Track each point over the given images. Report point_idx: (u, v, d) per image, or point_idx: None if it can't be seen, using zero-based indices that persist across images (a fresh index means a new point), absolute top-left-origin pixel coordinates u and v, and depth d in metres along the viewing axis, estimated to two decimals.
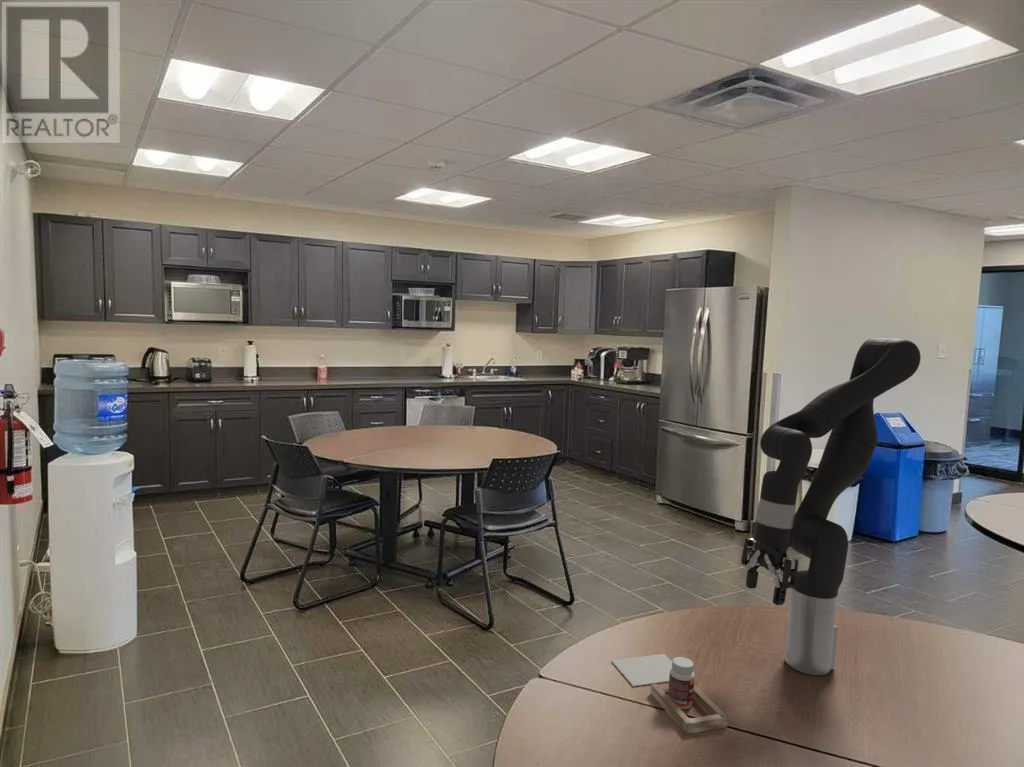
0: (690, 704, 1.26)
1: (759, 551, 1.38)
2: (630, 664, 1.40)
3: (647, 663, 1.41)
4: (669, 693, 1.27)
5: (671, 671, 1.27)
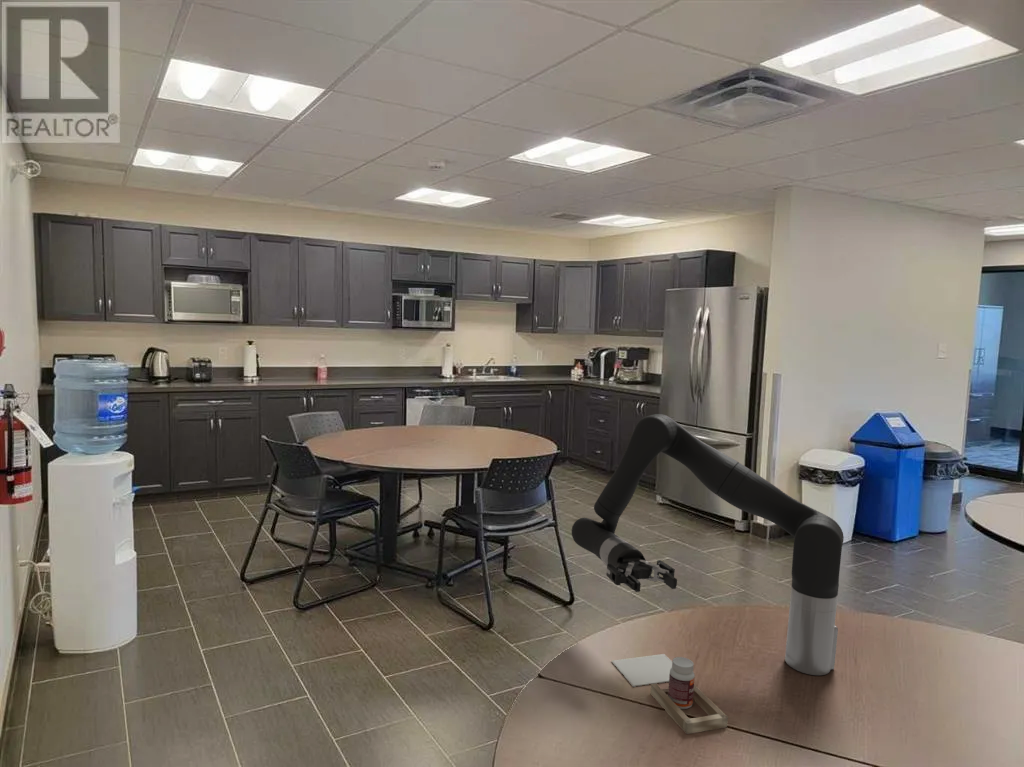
0: (690, 704, 1.26)
1: None
2: (630, 664, 1.40)
3: (647, 663, 1.41)
4: (669, 693, 1.27)
5: (671, 671, 1.27)
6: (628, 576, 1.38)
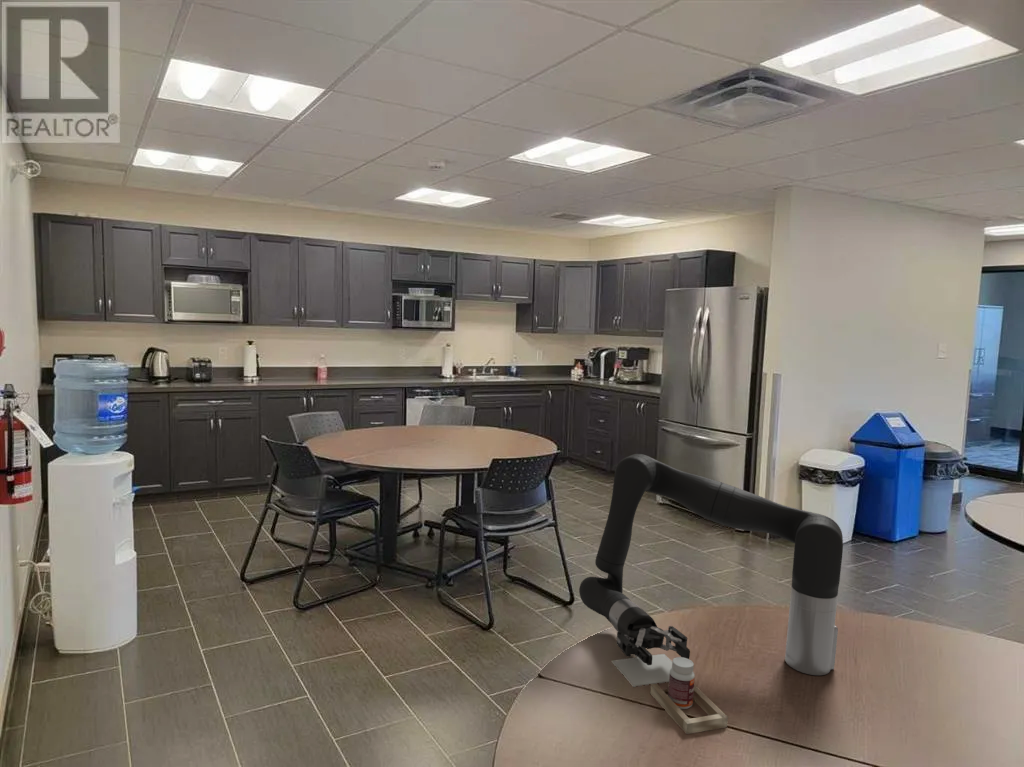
0: (690, 704, 1.26)
1: None
2: (630, 664, 1.40)
3: None
4: (669, 693, 1.27)
5: (671, 671, 1.27)
6: (639, 647, 1.34)
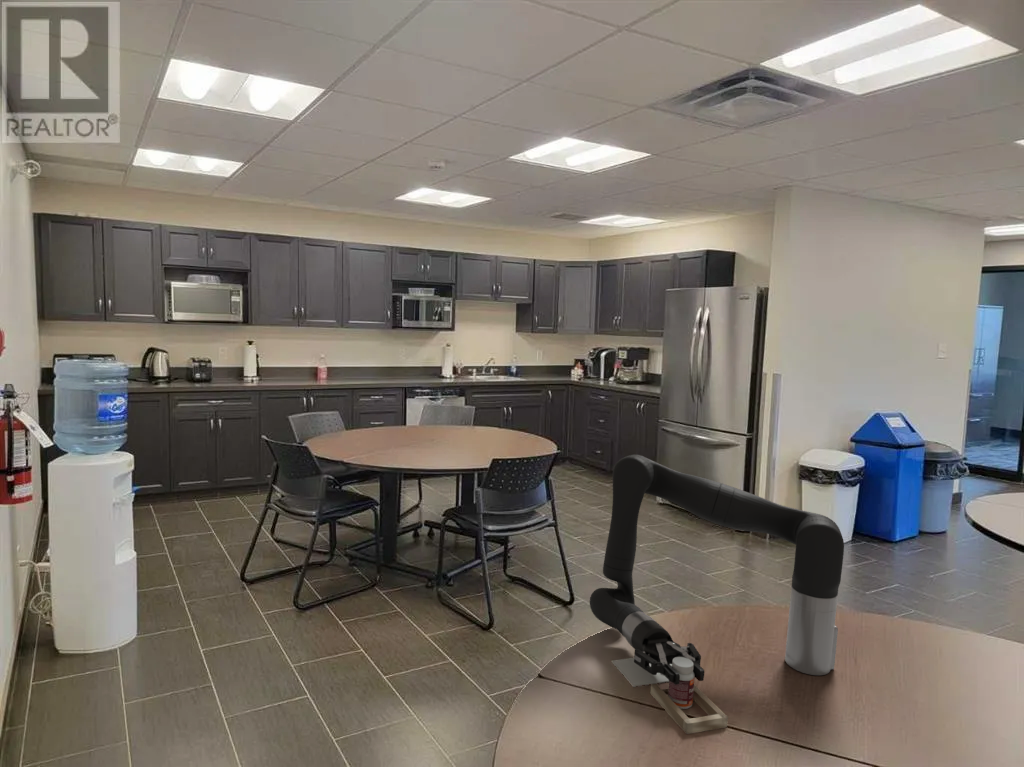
0: (690, 704, 1.26)
1: None
2: (630, 664, 1.40)
3: None
4: (669, 693, 1.27)
5: None
6: (665, 665, 1.27)
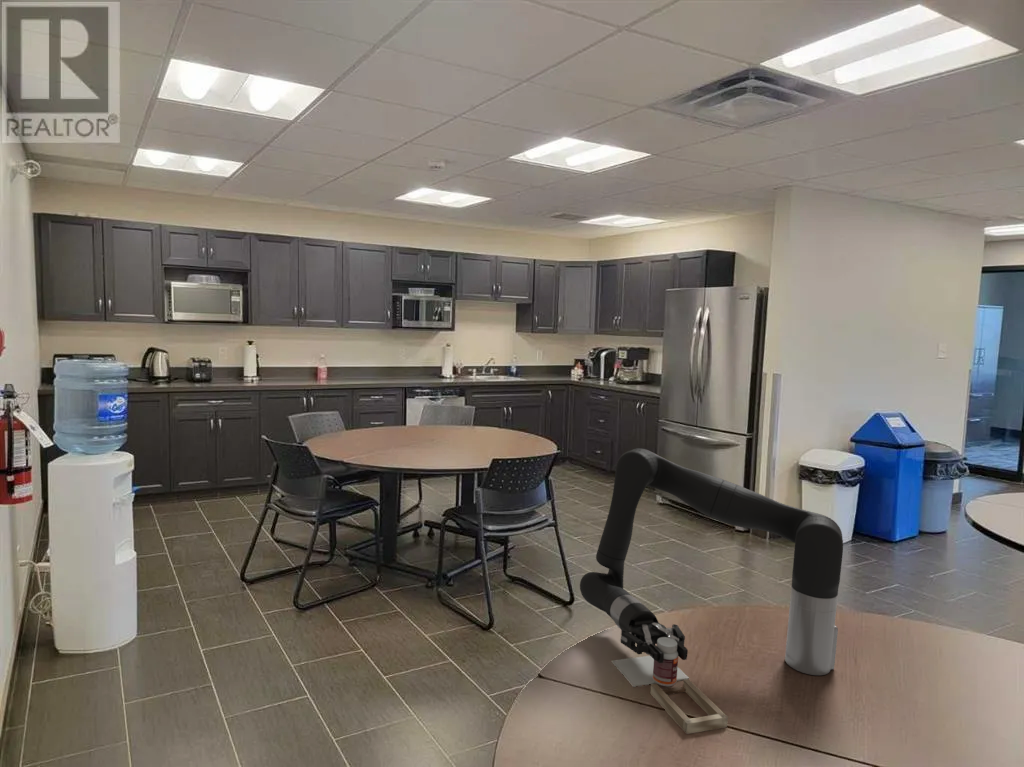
0: (674, 682, 1.31)
1: None
2: (630, 664, 1.40)
3: (647, 663, 1.41)
4: (654, 671, 1.33)
5: None
6: (650, 645, 1.32)
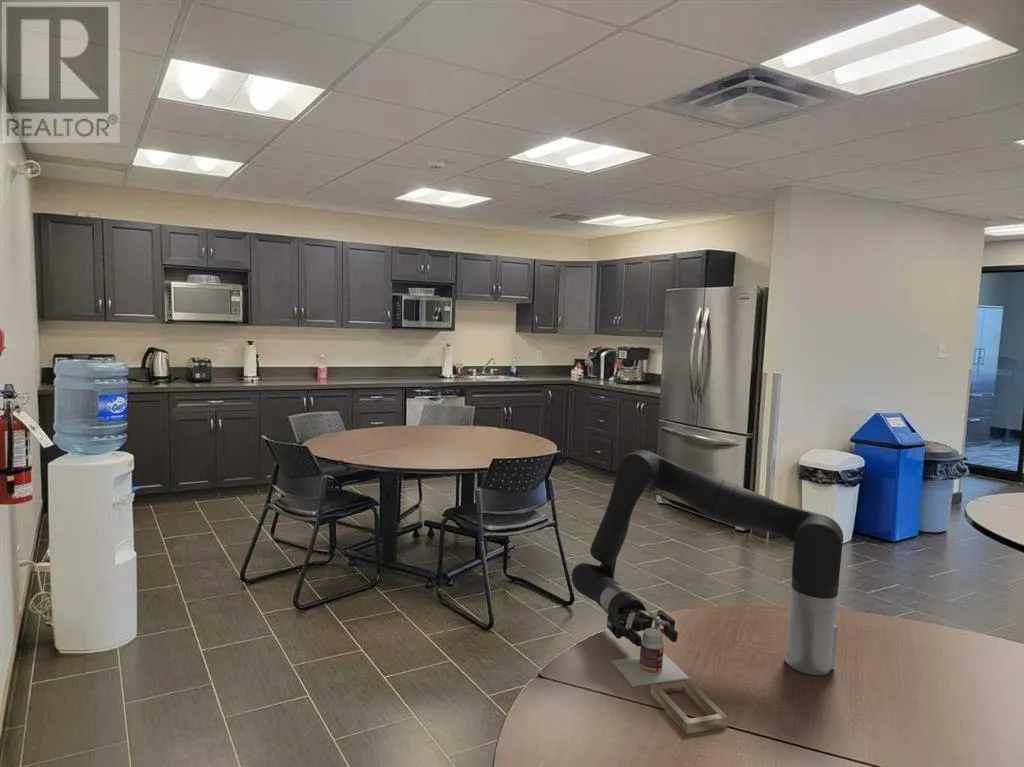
0: (659, 671, 1.37)
1: None
2: (630, 664, 1.40)
3: None
4: (640, 661, 1.38)
5: (642, 641, 1.38)
6: (629, 629, 1.38)
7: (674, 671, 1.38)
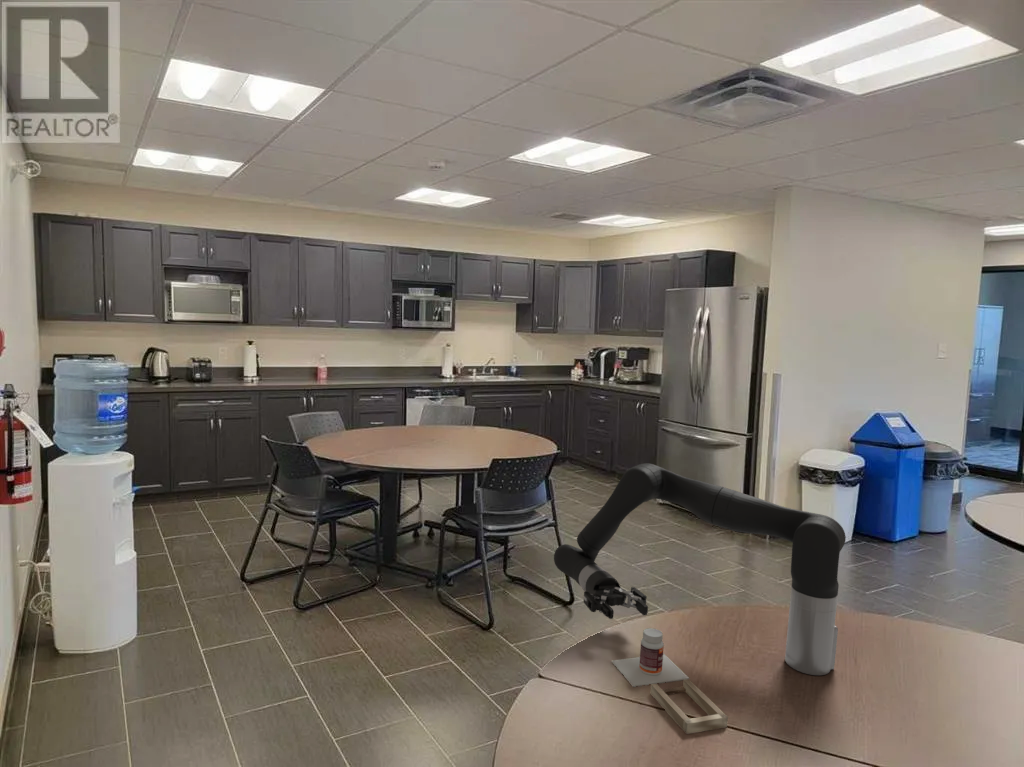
0: (659, 671, 1.37)
1: None
2: (630, 664, 1.40)
3: None
4: (640, 661, 1.38)
5: (642, 641, 1.38)
6: (603, 604, 1.50)
7: (674, 671, 1.38)
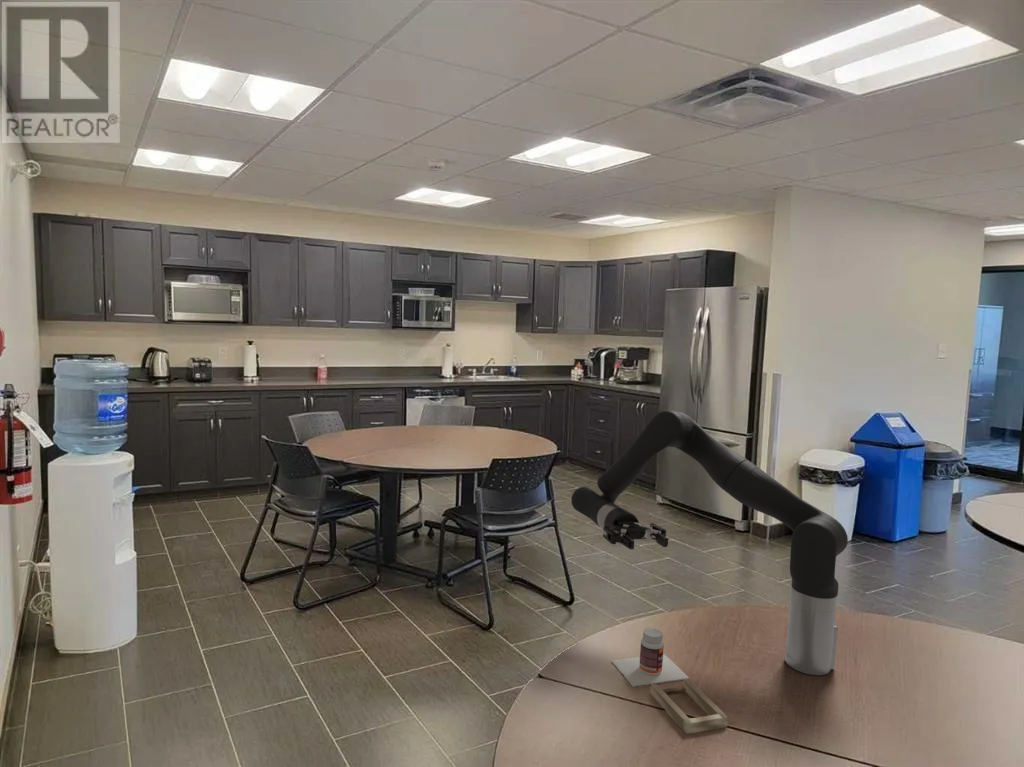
0: (659, 671, 1.37)
1: None
2: (630, 664, 1.40)
3: None
4: (640, 661, 1.38)
5: (642, 641, 1.38)
6: (623, 536, 1.49)
7: (674, 671, 1.38)
